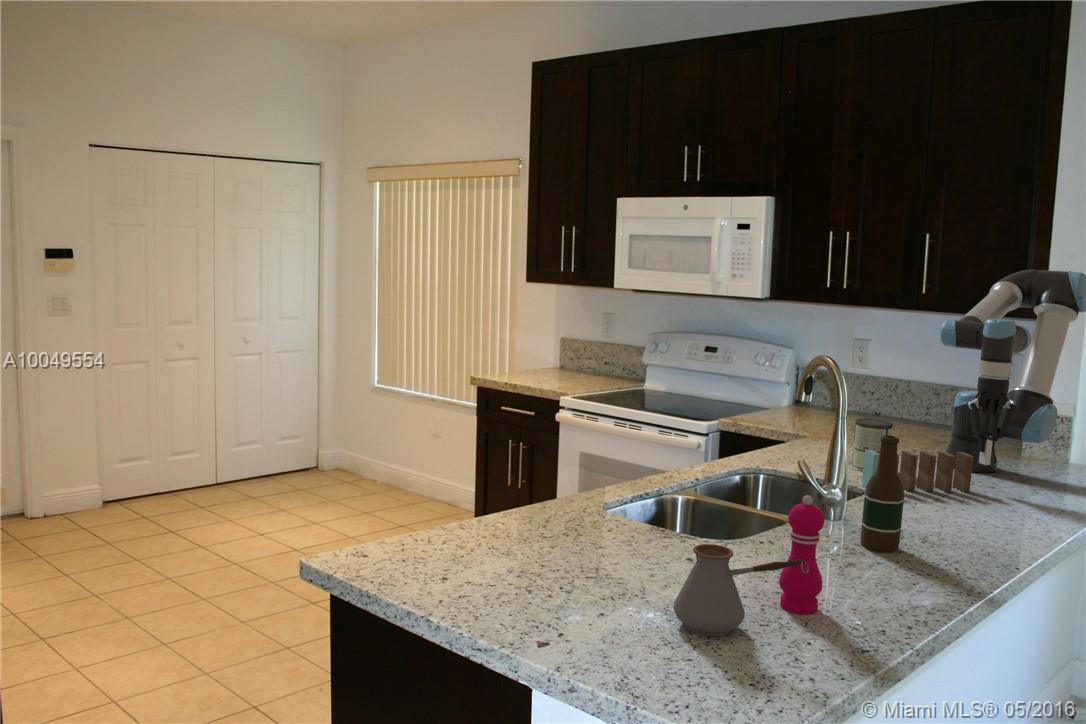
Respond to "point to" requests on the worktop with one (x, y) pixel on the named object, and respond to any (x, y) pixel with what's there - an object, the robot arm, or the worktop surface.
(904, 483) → the domino
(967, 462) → the domino
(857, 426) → the coffee can
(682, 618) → the coffee pot
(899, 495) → the beer bottle
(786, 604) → the pepper mill
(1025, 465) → the worktop surface
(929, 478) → the domino
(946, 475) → the domino
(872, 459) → the domino
